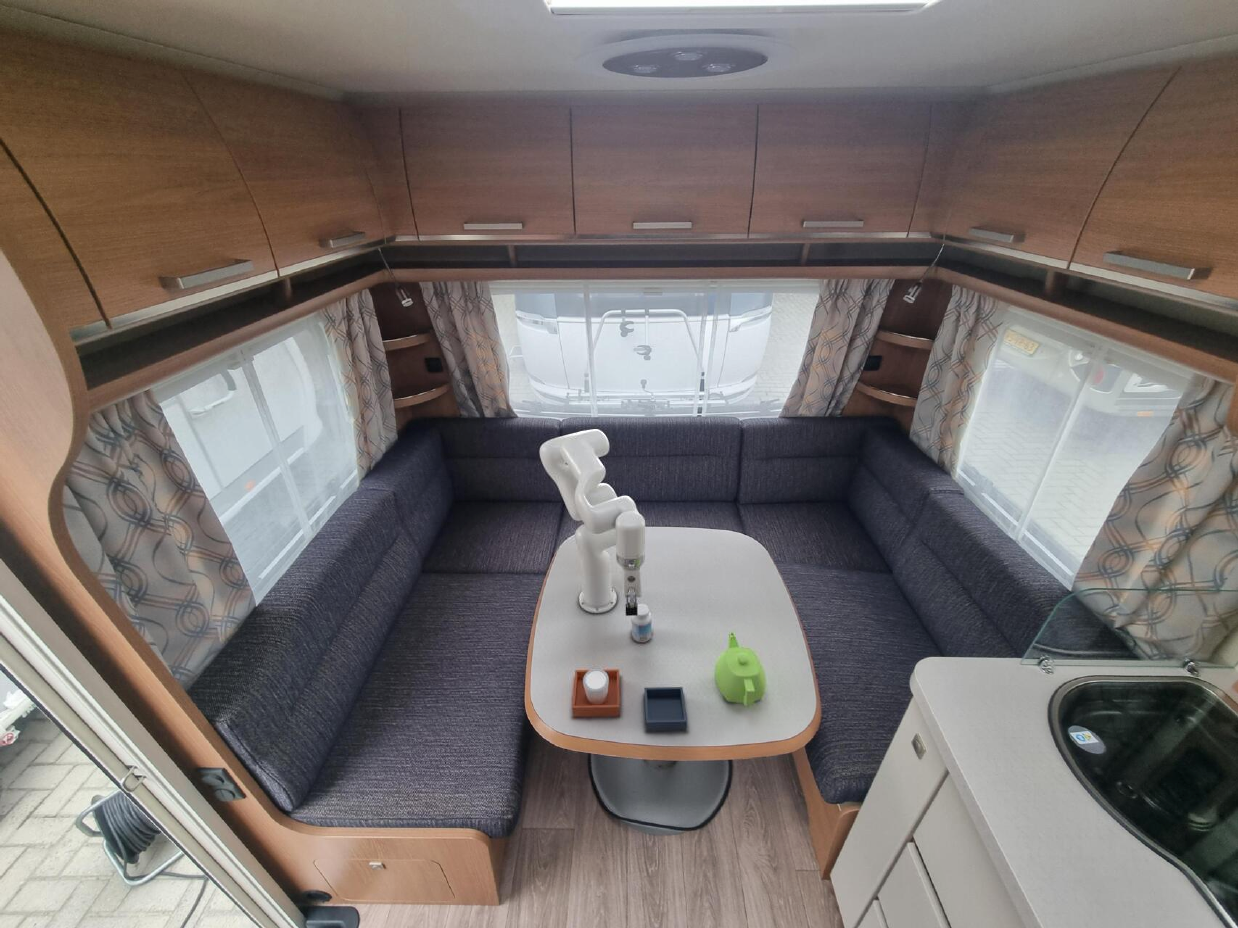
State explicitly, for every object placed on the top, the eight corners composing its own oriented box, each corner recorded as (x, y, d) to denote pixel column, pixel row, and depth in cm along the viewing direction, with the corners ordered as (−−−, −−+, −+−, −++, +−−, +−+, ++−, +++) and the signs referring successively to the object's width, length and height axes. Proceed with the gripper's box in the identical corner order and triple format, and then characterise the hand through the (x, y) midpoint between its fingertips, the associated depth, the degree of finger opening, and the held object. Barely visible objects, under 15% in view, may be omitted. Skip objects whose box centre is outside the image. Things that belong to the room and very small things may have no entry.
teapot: (706, 656, 143) (710, 627, 137) (752, 654, 144) (757, 624, 137) (722, 722, 126) (726, 692, 120) (773, 719, 126) (780, 689, 120)
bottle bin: (644, 696, 133) (644, 687, 131) (681, 695, 133) (682, 686, 131) (646, 731, 124) (646, 722, 122) (686, 730, 124) (686, 721, 122)
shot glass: (606, 709, 129) (605, 693, 126) (581, 705, 131) (579, 688, 127) (612, 686, 135) (611, 670, 131) (588, 682, 136) (586, 666, 133)
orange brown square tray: (576, 678, 138) (575, 669, 136) (619, 678, 138) (619, 669, 136) (573, 716, 128) (572, 707, 126) (619, 716, 128) (619, 706, 126)
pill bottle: (653, 629, 152) (654, 604, 146) (648, 645, 147) (648, 619, 141) (635, 625, 154) (634, 599, 148) (629, 640, 149) (628, 614, 143)
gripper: (647, 578, 120) (646, 625, 129) (642, 533, 135) (642, 578, 144) (616, 579, 120) (618, 626, 129) (615, 534, 135) (616, 579, 144)
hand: (630, 601), depth 137 cm, fingers open, 9 cm apart
